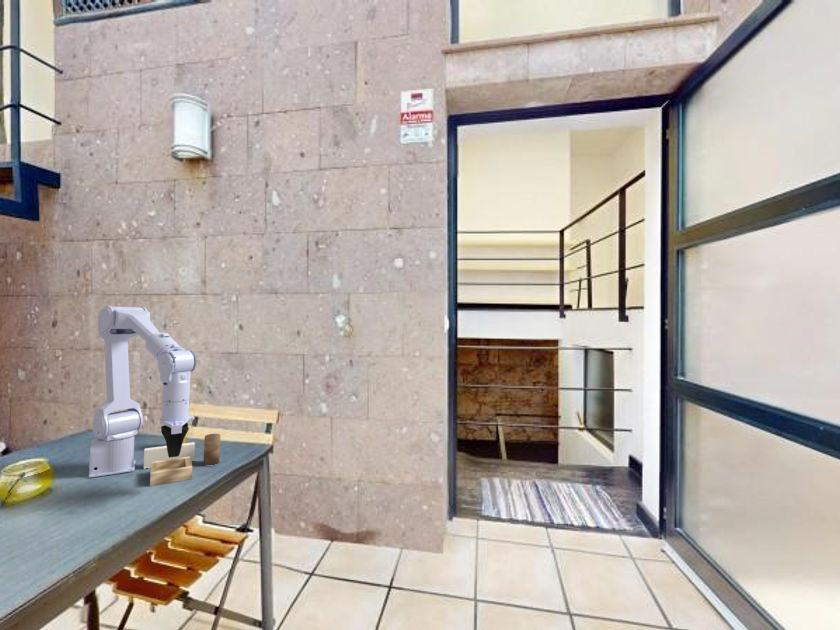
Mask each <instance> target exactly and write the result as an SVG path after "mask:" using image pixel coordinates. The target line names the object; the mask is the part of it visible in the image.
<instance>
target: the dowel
mask: <svg viewBox="0 0 840 630" xmlns="http://www.w3.org/2000/svg"><path fill="white" fill-rule="evenodd" d="M203 442H204V446H203V447H204V448H203V466H204V465H215V464H218V463H219V464H220V459H221V458H220V456H221V455H220V454H221V453H220V452H221V433H210V434H206V435H205V436H204V441H203ZM219 464H218V465H219ZM215 466H216V465H215Z"/></svg>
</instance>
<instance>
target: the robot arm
mask: <svg viewBox="0 0 840 630" xmlns="http://www.w3.org/2000/svg"><path fill="white" fill-rule="evenodd" d="M97 329H98V330H97V331H98V337H99V338H101V339H104V359H105V360H104V361H105V362H104V363H105V383H106V384H105V386H106V401H104V403H102V404H101V405H99V407H97V408H96V409H95V410H94V413H93V414H94V415H93V421H92V427H91V428H92V432H93V435H94V436H95V438H93V439H91V442H90V447H89V461H88V478H89V479H90V478H98V477H104V476H105V477H106V476H111V475H117V474H124V473H130V472H134V471H135V469H136V462H137V461H136V459H135V457H134V456H135V436H136V435H138V431H140V430H141V428H142V427H143V424H144V415H143V413H142V409H141V404H140V403H138V402H137V401H135V400H134V399H132V398H131V386H130V382H131V381H130V369H129V368H130V365H129V347H128V346H129V344H128V342H129V341H130V340H131V339H132V338H134V337H137V336H139V337H141V338H142V339H143V340H144V341H145V345H144V346H145V349H146V350H147V351H148V353H150V354H151V356H153V358H155V360H156V361H157V369H158V371H159V375H160V376H159V377H160V378H159V379H160V381H161V382H162V392H161V393H162V394H161V418H160V420H159V421H160V424H161V427H160V429H161V431H160V433H161V434H162V436H163V438H164V441H165V446H166V445H167V452H168V456H169V458H171V457H178V456H179V454H180V451H181V447H182V443H183V440H184V437H185V435H186V436H187V433H188V432H189V429H190V428H189V423H188V422H190V421H193V420H195V415H193V414H191V415H190V400H191V399H190V397H191V378H192V377H191V374H192V373H193V372H194V371H195V370H196V367H197V364H198V363H197V362H198V361H197V355H196V353H195V352H194V351H193V349H191V348H184V347H183V348H182V347H181V346H180V344H178V342H176V340H175V339H173V338H172V337H171V335H170V334H169V333H168V332H160V330H158V328H157V327H156V326H155V325H154V323H153V322H152V321H151V312H150V311H148V309H147V308H146V307H145V306H113V305H104V306H102V308H101V310H100V312H99V313H98V315H97Z"/></svg>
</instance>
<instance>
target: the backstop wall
mask: <svg viewBox="0 0 840 630" xmlns="http://www.w3.org/2000/svg"><path fill="white" fill-rule="evenodd" d="M195 450H196V443H195V442H194V441H192V442H186V443H184V444H182V447H181V451H180V454H179V456H178V457H171V458H169V456H168V452H167V446H166V445H163V446H155V447H154V446H152V447H145V448H144V452H143V470H146V468H148V469H150V468H151V462H154V461H161V460H168V459H175V458H182V457H189V456H190V459H191V463H193V462H192V461H194V462H195V453H196V451H195Z"/></svg>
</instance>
